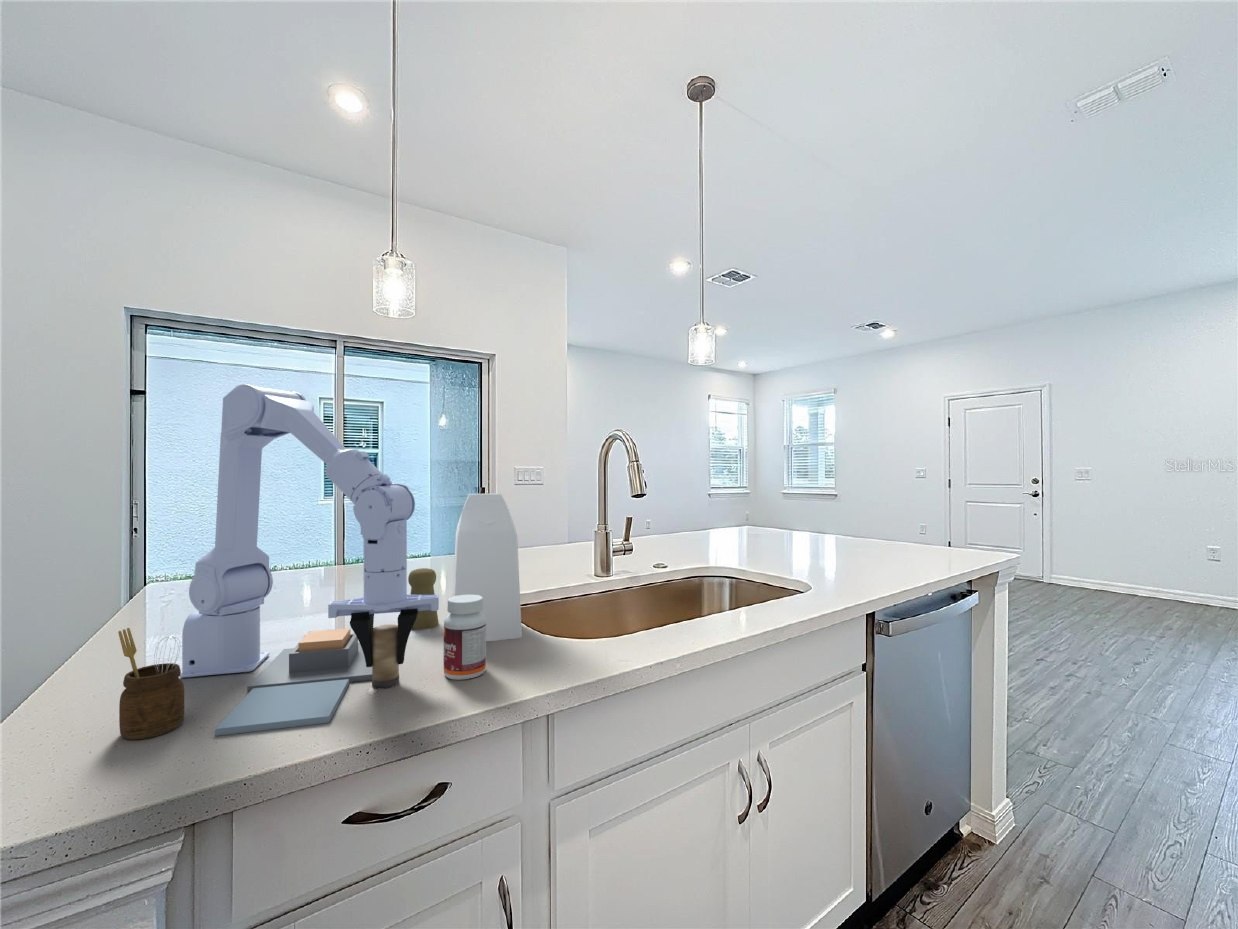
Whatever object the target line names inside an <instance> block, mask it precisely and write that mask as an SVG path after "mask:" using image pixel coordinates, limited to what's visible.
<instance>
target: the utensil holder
mask: <svg viewBox="0 0 1238 929" xmlns="http://www.w3.org/2000/svg"><path fill="white" fill-rule="evenodd" d="M117 633H118V637H119V640H120V644H121V649H122V653H123V656H124V657H125V658H129V660H130V661H129V662H130V664H131V668H132V670H131V671H129V672H126V674H125V675H124V679H123V682H122V683H123V684H122V685H123V687H124V688H125V689H124V690H122V692H121V694H120V696H119V704H118V706H119V708H118V710H119V712H118V713H119V718H118V719H119V720H118V721H119V723H118V724H119V733H120V736H121V738H122V739H125V740H129V741H131V740H132V741H137V740H138V741H139V740H145V739H150V738H155V737H159V736H162V735H164V734H167V733H169V732H172V731H173V730H175V729H177V728H178V727H180V726H181V725H182V723H183V722H184V719H185V684H184V681H183V680H182V679H181V678H180V675H181V673H182V670H181V667H180V665H179V664H178V663H177V660H178V658H179V654H180V653H179V652H180V651H181V647H180V645H177V648H178V650H177V653H176V655H177V656H175V661H174V663H173V662H172V659H173V657H174V654H175V651H173V652H172V657H171V659H170V658H168V659H167V662H166V663H164V662H163V663H158V664H157V661H155V663H156V664H155V663H153V664H151V665H147V666H142V667H137V664H136V660H135V655H136V653H137V648H136V644H135V640H134V638H133V635H132V631H131V628H130V627H127V628H126V629H125V628H124V629H122V630H119V631H118V632H117ZM168 639H174V644H176V643H177V644H179V643H181V642H180V640H179V638H177V637H175V636H169V635H168V636H164V637H163V638H162V639H161V640H160V641H159V642H158V643H157V646H156V647H155V650H154V656H153V658H156V657H157V654H158V652H157V651H158V650H159V645H160V643H161V642H162V641H163V640H166V641H164V642H163V643H162V646H161V649H160V652H159V653H160V654H159V655H161V653H162V650H163V646H164V645H165V647H164V649H166V647H167V643H168ZM175 649H176V645H174V647H173V650H175ZM171 650H172V647H170V649H169V652H171ZM165 652H166V650H164V652H163V655H165ZM170 655H171V653H169V654H168V657H170ZM160 658H161V656H159V658H158V660H160ZM164 659H165V656H163V658H162V661H165V660H164ZM169 660H170V661H169Z"/></svg>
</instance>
